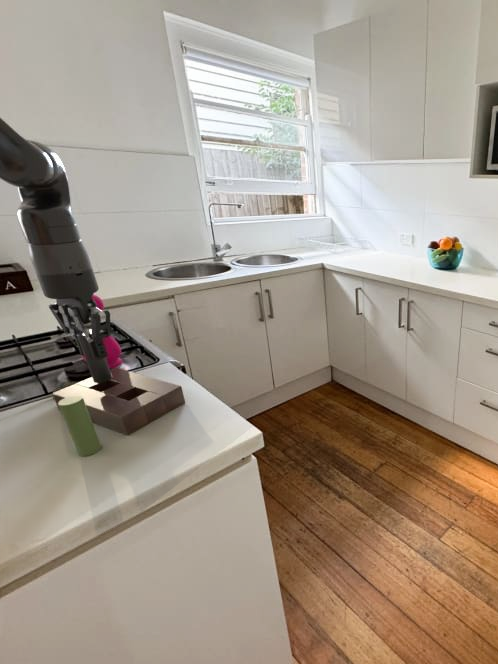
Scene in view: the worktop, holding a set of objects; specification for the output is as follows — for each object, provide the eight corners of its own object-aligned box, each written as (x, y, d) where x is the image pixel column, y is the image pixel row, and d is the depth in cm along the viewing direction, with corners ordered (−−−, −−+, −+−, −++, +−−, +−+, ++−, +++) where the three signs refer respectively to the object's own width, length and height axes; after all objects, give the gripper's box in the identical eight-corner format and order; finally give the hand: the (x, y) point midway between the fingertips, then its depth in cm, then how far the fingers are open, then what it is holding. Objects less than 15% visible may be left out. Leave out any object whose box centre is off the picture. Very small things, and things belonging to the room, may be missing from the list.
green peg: (74, 453, 63) (53, 402, 59) (93, 443, 66) (74, 393, 62) (86, 458, 62) (65, 407, 58) (105, 447, 65) (86, 397, 61)
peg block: (127, 435, 68) (121, 417, 66) (58, 410, 74) (51, 393, 73) (185, 402, 78) (181, 385, 77) (120, 383, 84) (115, 367, 83)
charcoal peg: (89, 381, 74) (72, 334, 70) (106, 374, 77) (90, 328, 73) (100, 384, 74) (83, 336, 70) (116, 377, 76) (100, 331, 72)
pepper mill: (133, 364, 93) (109, 284, 85) (106, 378, 86) (78, 293, 78) (108, 360, 94) (82, 281, 86) (79, 374, 87) (48, 290, 79)
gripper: (13, 267, 65) (49, 357, 72) (64, 276, 61) (98, 372, 68) (63, 259, 72) (92, 343, 79) (113, 267, 67) (139, 355, 74)
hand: (95, 356), depth 73 cm, fingers closed on charcoal peg, 3 cm apart
